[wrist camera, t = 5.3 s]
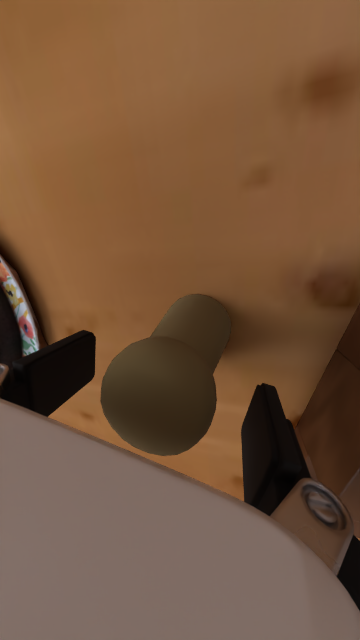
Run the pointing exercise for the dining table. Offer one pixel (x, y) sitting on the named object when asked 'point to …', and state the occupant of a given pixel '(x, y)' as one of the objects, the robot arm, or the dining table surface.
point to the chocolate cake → (16, 319)
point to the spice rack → (336, 424)
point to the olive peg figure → (168, 379)
